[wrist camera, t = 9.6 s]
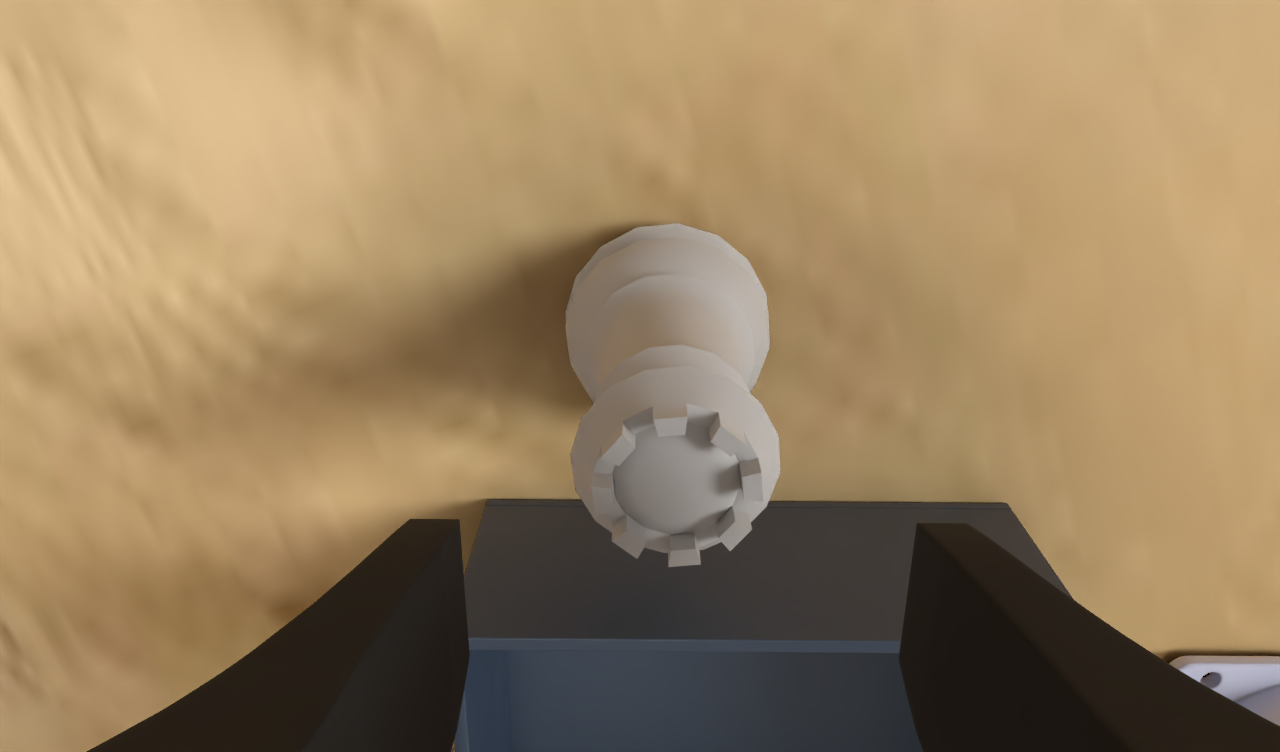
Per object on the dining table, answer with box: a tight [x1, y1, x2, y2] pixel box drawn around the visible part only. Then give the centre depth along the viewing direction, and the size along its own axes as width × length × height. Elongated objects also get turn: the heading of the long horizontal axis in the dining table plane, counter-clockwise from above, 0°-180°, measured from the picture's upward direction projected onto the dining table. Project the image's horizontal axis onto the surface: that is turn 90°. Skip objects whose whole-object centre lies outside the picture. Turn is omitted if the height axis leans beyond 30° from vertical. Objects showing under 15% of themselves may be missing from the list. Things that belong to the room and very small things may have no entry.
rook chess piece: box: [565, 223, 780, 567], centre depth 18 cm, size 4×4×8 cm
